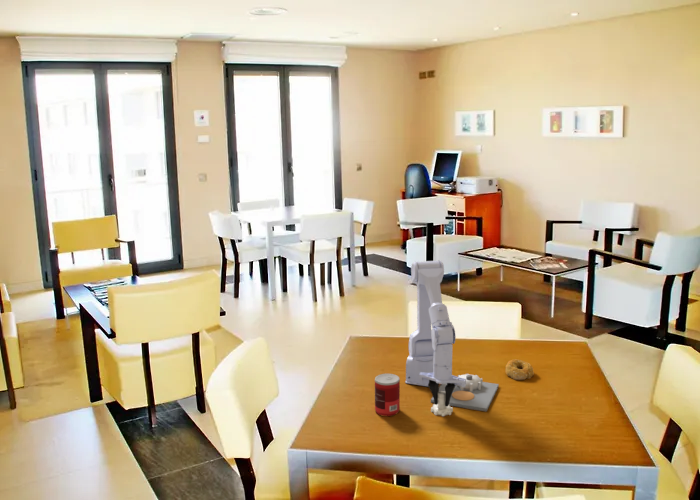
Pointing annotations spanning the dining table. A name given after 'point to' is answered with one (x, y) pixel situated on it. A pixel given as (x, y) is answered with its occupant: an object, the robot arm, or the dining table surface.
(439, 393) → the planet gear
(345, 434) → the dining table surface
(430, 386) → the robot arm
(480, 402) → the plate
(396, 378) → the canned food
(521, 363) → the bagel
